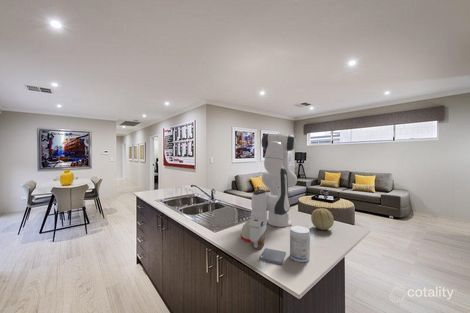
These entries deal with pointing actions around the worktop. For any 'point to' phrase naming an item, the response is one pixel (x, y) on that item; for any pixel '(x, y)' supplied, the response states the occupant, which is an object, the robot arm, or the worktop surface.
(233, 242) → the worktop surface
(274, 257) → the slate coaster
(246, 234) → the kitchen timer
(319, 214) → the cantaloupe
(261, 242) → the walnut block
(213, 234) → the worktop surface
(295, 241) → the supplement tub
